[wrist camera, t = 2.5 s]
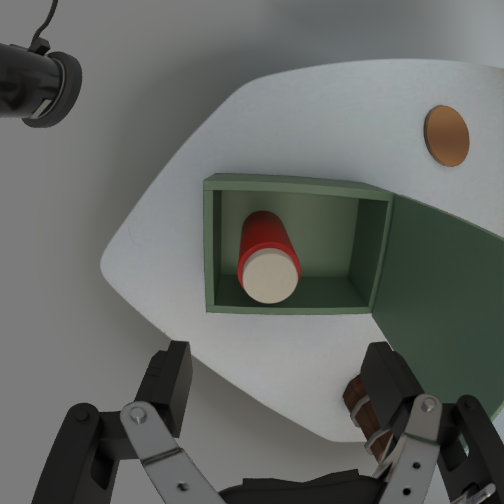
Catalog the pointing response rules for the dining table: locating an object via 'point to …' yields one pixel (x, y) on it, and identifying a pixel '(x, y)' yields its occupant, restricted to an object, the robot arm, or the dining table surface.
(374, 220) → the chest
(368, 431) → the mug
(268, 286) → the sauce bottle
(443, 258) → the chest lid
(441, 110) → the disc
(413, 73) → the dining table surface
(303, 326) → the dining table surface
